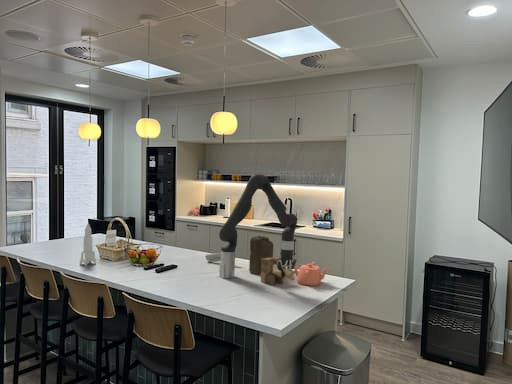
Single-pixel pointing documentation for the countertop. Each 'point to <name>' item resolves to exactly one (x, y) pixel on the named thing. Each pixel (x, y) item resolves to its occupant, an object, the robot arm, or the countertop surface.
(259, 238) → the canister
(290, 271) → the rail
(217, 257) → the gun
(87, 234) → the sculpture
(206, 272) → the countertop surface
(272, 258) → the slotted wooden stand
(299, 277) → the pot
